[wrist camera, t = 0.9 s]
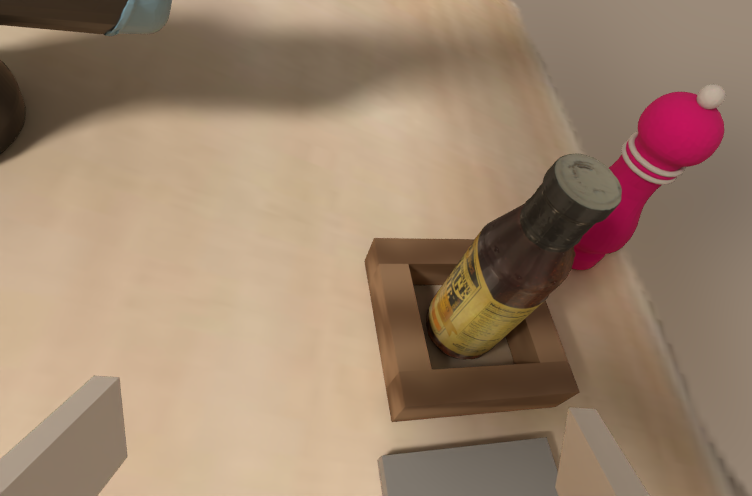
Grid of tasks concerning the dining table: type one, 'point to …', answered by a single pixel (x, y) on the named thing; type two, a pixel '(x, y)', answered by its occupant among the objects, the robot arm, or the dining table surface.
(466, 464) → the slate tile
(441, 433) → the dining table surface
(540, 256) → the sauce bottle
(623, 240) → the pepper mill
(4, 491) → the robot arm
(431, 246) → the bottle holder
